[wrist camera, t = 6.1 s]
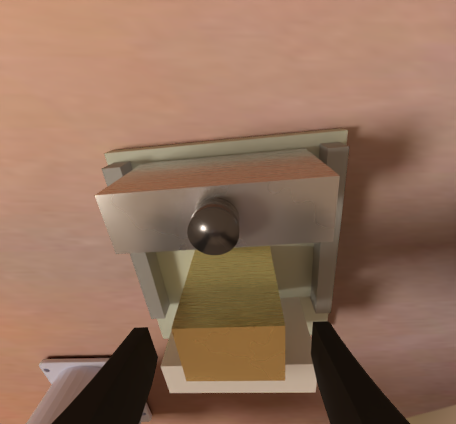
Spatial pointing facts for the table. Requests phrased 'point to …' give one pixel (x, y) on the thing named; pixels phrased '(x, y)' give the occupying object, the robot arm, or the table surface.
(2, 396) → the table surface
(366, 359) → the table surface
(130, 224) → the block
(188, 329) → the block
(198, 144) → the vise
